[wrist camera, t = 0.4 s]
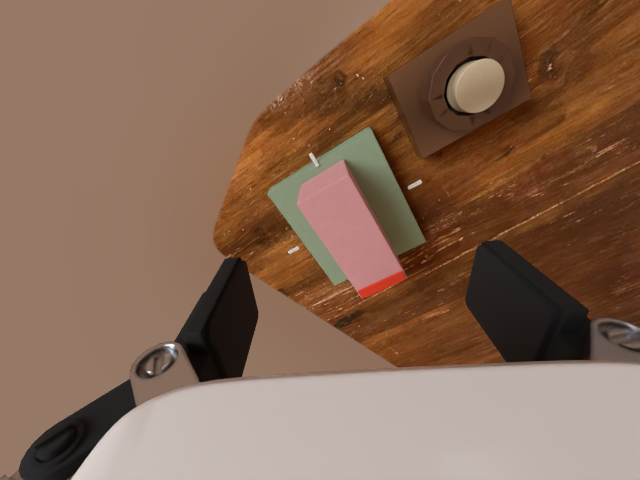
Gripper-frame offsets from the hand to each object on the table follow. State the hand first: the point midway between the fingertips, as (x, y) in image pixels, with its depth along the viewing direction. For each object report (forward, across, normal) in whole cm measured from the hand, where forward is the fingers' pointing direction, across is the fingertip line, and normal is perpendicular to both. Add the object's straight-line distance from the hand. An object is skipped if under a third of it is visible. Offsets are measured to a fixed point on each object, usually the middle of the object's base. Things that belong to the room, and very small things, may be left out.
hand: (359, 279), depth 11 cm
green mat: (+20, -1, +5) cm, 21 cm away
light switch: (+20, -11, -6) cm, 23 cm away
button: (+16, -11, -6) cm, 21 cm away
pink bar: (+18, -1, +5) cm, 19 cm away
